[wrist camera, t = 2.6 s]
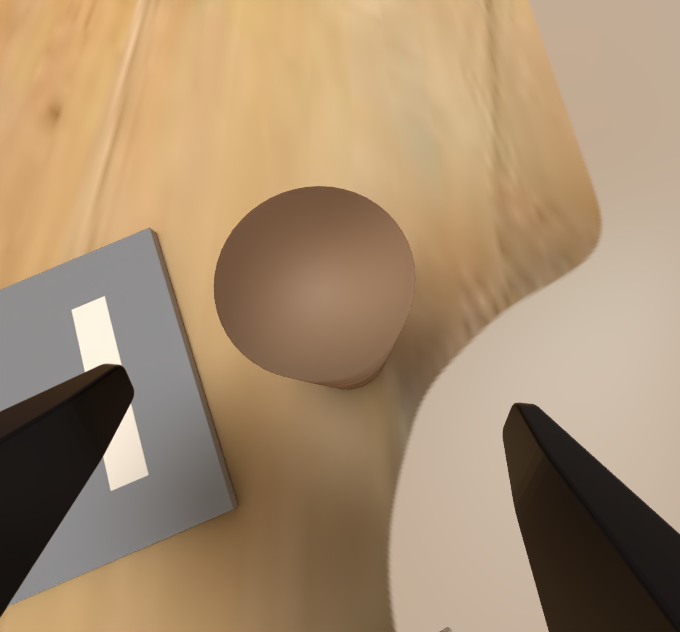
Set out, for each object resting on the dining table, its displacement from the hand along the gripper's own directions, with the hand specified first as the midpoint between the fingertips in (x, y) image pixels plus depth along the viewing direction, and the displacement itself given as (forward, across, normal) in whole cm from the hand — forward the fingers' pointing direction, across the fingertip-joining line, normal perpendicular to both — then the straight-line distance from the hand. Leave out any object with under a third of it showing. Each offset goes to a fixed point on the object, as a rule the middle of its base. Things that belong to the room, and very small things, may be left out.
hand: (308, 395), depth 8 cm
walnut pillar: (+9, 0, +5) cm, 10 cm away
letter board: (+5, +15, +9) cm, 18 cm away
